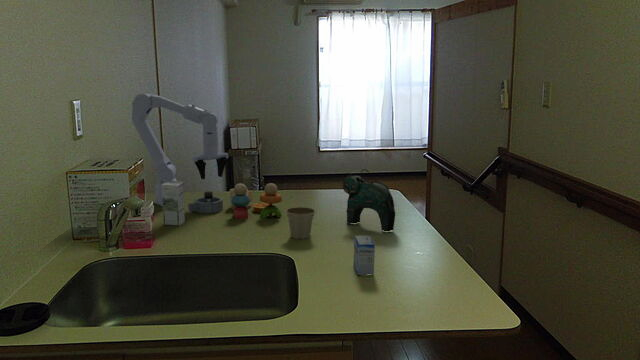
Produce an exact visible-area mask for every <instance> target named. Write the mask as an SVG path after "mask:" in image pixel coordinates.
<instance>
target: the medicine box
mask: <svg viewBox="0 0 640 360" xmlns="http://www.w3.org/2000/svg"><path fill="white" fill-rule="evenodd" d="M375 253H376V245H375V243H374V242H373V240H372V238H371V236H370V235H354V243H353V267H355V268H354V270H355V272H356V274H357V276H358V275H367V274H374V275H375V257H376V256H375V255H376V254H375Z"/></svg>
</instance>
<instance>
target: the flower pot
mask: <svg viewBox="0 0 640 360" xmlns="http://www.w3.org/2000/svg"><path fill="white" fill-rule="evenodd" d="M285 212H286V214H287V217H288V225H289V232H290V233H289V234H290V237H291V238H293V239H297V240H299V239H302V240H304V238H306V239H308V237H309V238H310V237H311V231H312V224H313V220H314V218H313V217H314V216H315V214H316V210H315V209H314V208H313V207H304V206H297V207H290V208H289V207H288V208H287V209H285Z"/></svg>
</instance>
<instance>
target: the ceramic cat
mask: <svg viewBox="0 0 640 360" xmlns="http://www.w3.org/2000/svg"><path fill="white" fill-rule="evenodd" d="M363 171H365V172H367V174H370V172H369V170H368V169H366V168H364V169H362V170H361V173H360V175H352V174H351V173H350V172H347V175H346V177H345V178H344V180H343V182H342V188H343V191H344V193H346V194H348V198H347V201H346V202H347V204H346V205H347V206H346V207H347V208H346V223H347V222H348V223H357V222H360V223H361V214H362V212H363V210H364V209H371V210H373V211H375V212H376V213H377V215H378V217H379V221H380V225H381V231H382V230H384V231H390V230H393V231H394V229H395V228H394V227H395V221H396V220H395V219H396V210H395V202H394V198H393V195H392V194H391V192H390V189H389V188H388V186H387V184H385V183H384V182H381V181H379V180H373V181H369V182H368V181H367V182H366V180H364V178H363V176H362V175H363Z"/></svg>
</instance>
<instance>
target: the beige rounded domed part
mask: <svg viewBox="0 0 640 360" xmlns="http://www.w3.org/2000/svg"><path fill="white" fill-rule="evenodd" d="M234 195H236V194H235V193H234V188H230V189H229V208H230V209H232V210H234V208H235V207H236V206H235V205H234V204H232V202H231V200H232V198H233V196H234ZM246 195H248V197H249V199H250V202H253V201H254V200H253V190H249V189H248V188H247V193H246ZM246 207H247V209H249V204H248V205H246Z"/></svg>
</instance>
